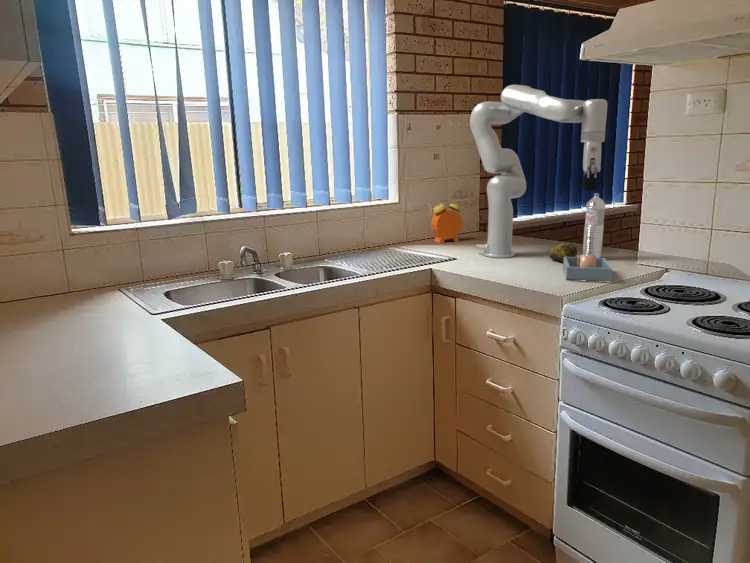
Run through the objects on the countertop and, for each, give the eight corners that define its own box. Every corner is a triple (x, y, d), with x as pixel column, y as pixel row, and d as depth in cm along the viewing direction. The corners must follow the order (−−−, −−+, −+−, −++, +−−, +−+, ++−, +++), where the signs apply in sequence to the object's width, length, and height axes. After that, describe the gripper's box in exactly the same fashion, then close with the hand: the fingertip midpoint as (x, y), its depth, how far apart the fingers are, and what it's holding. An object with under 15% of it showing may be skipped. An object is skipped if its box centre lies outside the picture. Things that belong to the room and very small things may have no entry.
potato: (567, 259, 222) (569, 238, 220) (579, 266, 210) (581, 244, 208) (546, 259, 222) (547, 238, 220) (556, 266, 210) (558, 244, 208)
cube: (577, 272, 197) (578, 258, 196) (576, 269, 202) (577, 255, 201) (593, 273, 196) (594, 258, 195) (591, 270, 201) (592, 256, 199)
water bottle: (603, 260, 219) (609, 194, 213) (585, 260, 219) (590, 194, 213) (597, 256, 226) (602, 192, 220) (579, 256, 226) (584, 192, 220)
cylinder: (579, 278, 190) (581, 257, 188) (578, 274, 194) (579, 254, 192) (595, 278, 189) (597, 257, 187) (593, 274, 193) (595, 254, 191)
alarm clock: (455, 239, 269) (456, 196, 265) (462, 241, 264) (463, 197, 259) (430, 241, 264) (430, 197, 260) (436, 243, 259) (437, 198, 254)
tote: (566, 280, 189) (567, 267, 188) (562, 268, 205) (563, 256, 204) (610, 282, 185) (611, 268, 184) (603, 270, 202) (604, 258, 201)
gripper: (608, 137, 185) (603, 191, 189) (601, 137, 201) (597, 186, 205) (583, 137, 187) (579, 191, 191) (578, 137, 203) (575, 186, 207)
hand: (588, 188), depth 198 cm, fingers open, 9 cm apart
